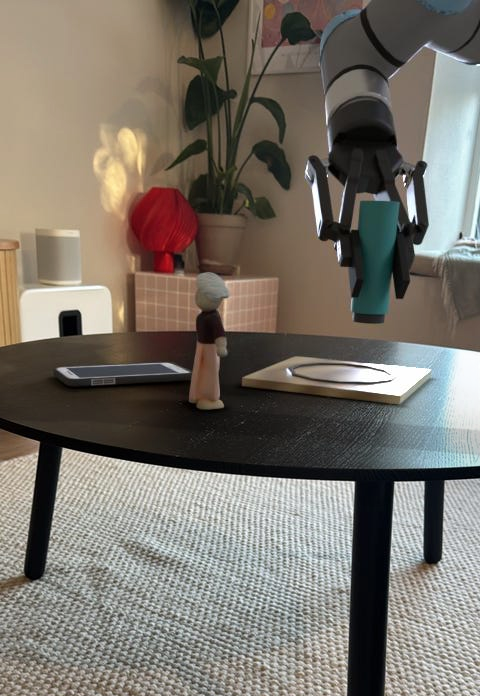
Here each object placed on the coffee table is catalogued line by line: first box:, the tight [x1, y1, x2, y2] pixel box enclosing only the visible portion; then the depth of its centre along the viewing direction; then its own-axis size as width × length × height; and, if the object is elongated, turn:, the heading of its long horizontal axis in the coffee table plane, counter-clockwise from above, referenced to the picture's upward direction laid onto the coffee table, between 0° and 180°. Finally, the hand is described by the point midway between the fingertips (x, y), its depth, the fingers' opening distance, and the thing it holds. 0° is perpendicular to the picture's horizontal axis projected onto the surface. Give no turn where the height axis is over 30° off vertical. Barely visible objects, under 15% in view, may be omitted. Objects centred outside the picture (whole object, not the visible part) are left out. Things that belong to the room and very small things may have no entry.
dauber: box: [350, 200, 399, 325], centre depth 79 cm, size 4×4×12 cm
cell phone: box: [53, 361, 193, 388], centre depth 86 cm, size 8×15×1 cm, turn 116°
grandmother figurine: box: [188, 271, 231, 411], centre depth 73 cm, size 8×4×13 cm, turn 30°
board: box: [241, 355, 432, 406], centre depth 89 cm, size 18×18×1 cm
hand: (380, 289), depth 76 cm, fingers closed on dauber, 4 cm apart
